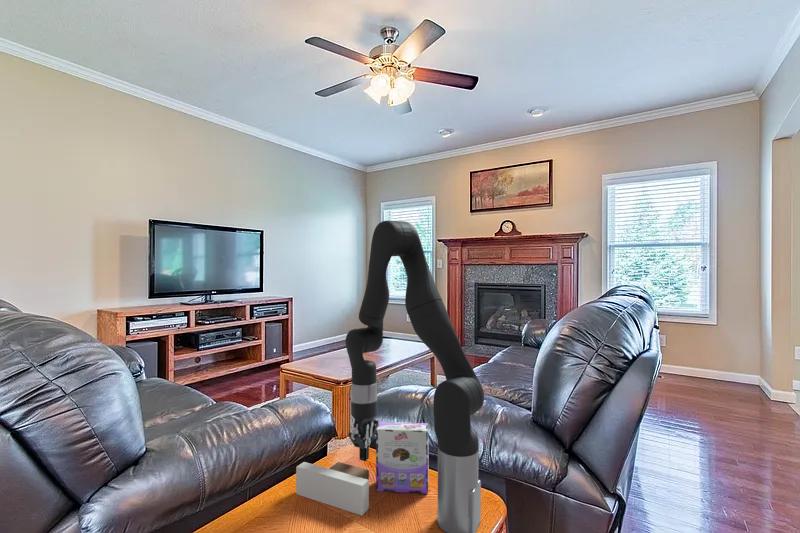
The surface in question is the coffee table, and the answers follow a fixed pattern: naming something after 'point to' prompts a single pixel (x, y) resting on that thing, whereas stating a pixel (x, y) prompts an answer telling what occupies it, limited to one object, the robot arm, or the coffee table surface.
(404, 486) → the candy box
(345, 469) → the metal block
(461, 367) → the robot arm
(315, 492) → the painted board
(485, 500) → the coffee table surface
